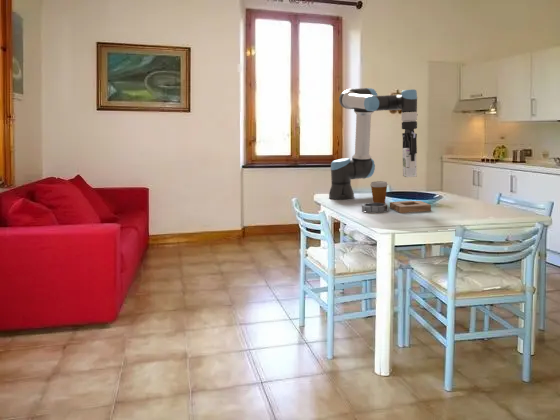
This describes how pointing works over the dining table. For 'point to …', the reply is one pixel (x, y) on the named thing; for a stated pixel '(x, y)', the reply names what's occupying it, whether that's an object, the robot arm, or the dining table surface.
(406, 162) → the syrup box
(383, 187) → the disposable coffee cup
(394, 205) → the square socket
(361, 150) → the robot arm
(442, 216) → the dining table surface
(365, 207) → the metal ring
